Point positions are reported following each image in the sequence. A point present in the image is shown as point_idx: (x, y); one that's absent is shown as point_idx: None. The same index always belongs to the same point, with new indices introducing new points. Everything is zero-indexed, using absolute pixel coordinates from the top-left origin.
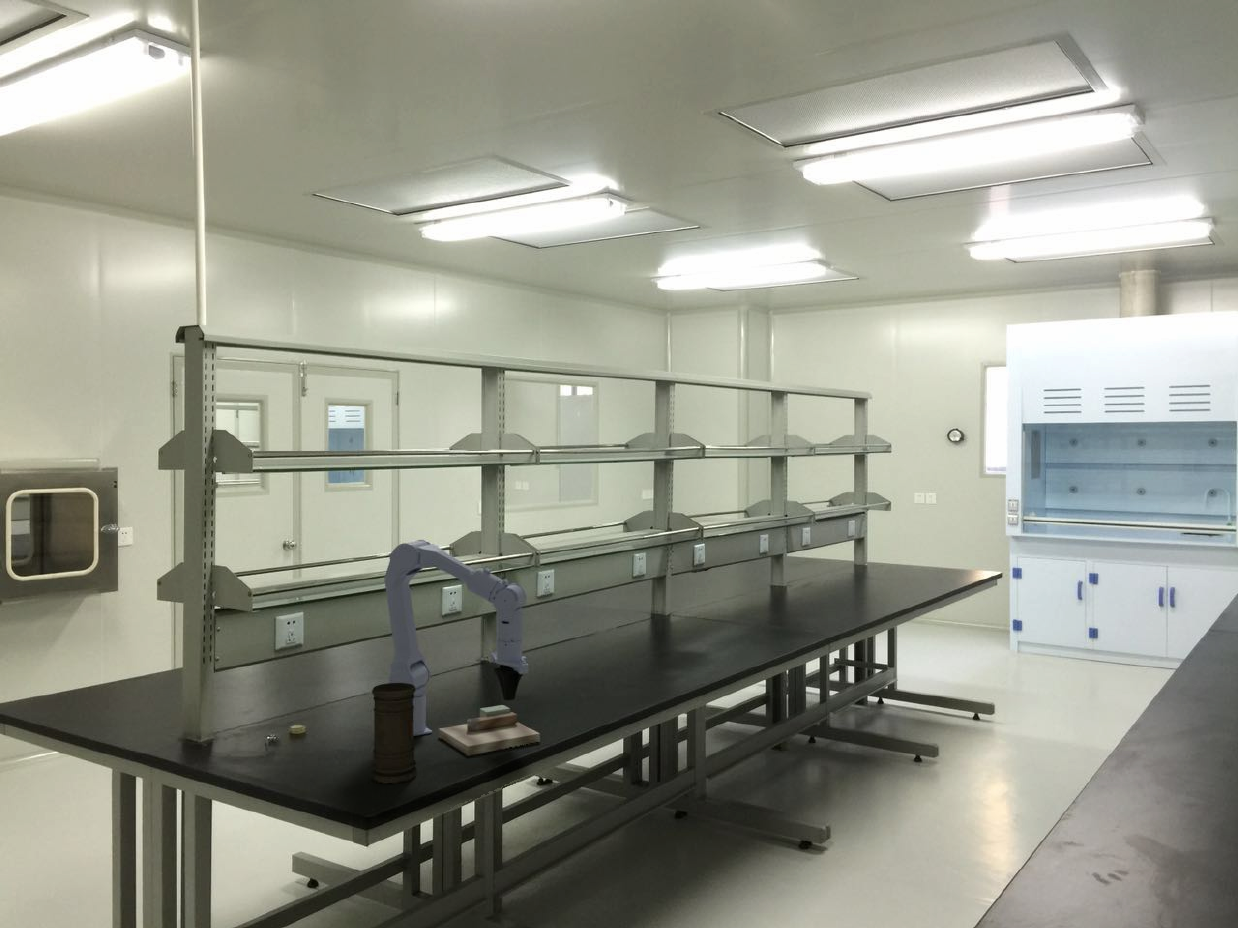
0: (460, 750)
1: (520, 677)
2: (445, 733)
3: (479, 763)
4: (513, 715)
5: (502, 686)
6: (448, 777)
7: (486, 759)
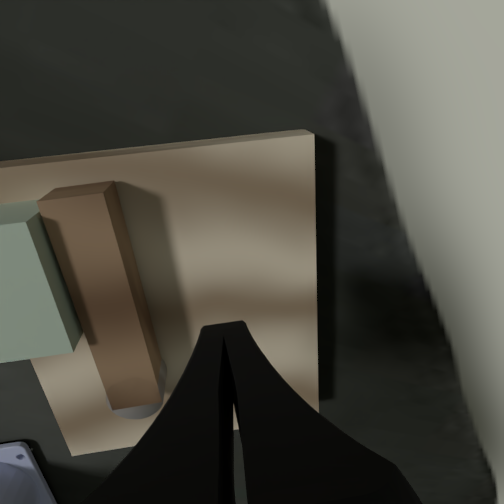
0: None
1: (341, 436)
2: (132, 443)
3: (393, 380)
4: (109, 216)
5: (232, 472)
6: (438, 455)
7: (373, 357)
